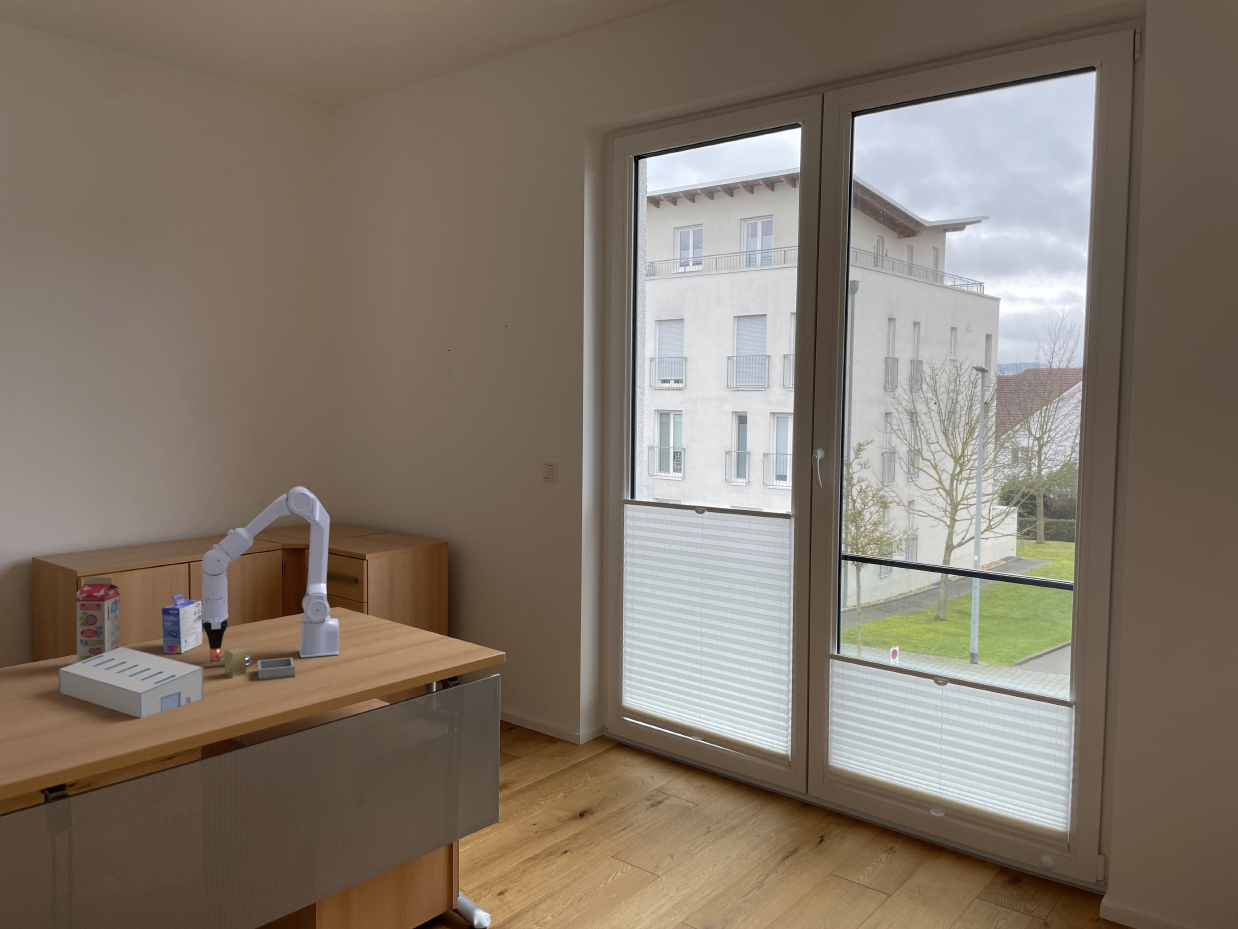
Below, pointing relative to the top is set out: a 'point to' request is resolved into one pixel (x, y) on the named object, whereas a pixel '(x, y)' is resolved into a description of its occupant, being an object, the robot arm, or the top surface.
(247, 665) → the bearing
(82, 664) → the warehouse
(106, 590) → the juice carton
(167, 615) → the ink cartridge box
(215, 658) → the crank
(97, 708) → the top surface
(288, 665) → the tray
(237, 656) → the block
